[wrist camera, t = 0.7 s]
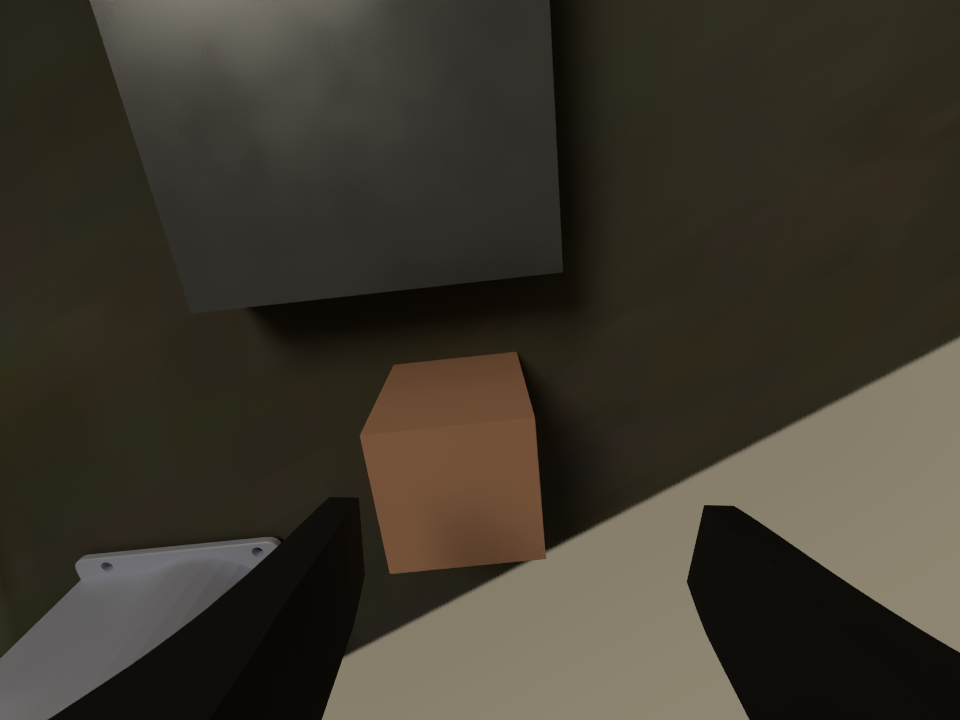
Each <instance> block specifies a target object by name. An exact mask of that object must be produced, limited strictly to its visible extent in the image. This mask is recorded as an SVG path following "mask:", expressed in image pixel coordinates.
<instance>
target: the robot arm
mask: <svg viewBox="0 0 960 720" xmlns="http://www.w3.org/2000/svg"><path fill="white" fill-rule="evenodd" d="M257 548H260V549H262V550H263V551H261V550H258V549H257ZM75 567H76V570H77V572H78V574H79V576H80V578H81V581H80V582H79V583H77V584H76V585H75V586H74V587H73V588H72V589H71V590H70V591H69V592H68V593H67V594H66V595H65V596H64V597H63V598H62V599H61V600H60V601H59V602H58V603H57V604H56V605H55V606H54V607H53V608H52V609H51V610H50V611H49V612H48V613H47V614H46V615H45V616H44V617H43V618H42V619H41V620H40V621H38V622H37V623H36V624H35V625H34V626H33V627H32V628H31V629H30V630H29V631H28V632H27V633H26V634H25V635H24V636H23V637H22V638H21V639H20V640H19V641H18V642H17V643H16V644H15V645H14V646H13V647H12V648H11V649H10V650H9V651H8V652H7V653H6V654H5V655H4V656H3V657H2V658H1V659H0V720H322V717H323V714H324V711H325V708H326V705H327V702H328V699H329V697H330V693H331V690H332V688H333V685H334V682H335V679H336V676H337V673H338V670H339V667H340V664H341V661H342V658H343V655H344V652H345V650H346V647H347V644H348V641H349V638H350V635H351V632H352V629H353V625H354V621H355V617H356V613H357V608H358V604H359V600H360V595H361V590H362V585H363V581H364V576H365V572H364V560H363V547H362V534H361V522H360V509H359V498H343V497H329V498H328V499H327V500H326V501H325V502H324V503H323V504H321V505H320V506H319V507H318V508H317V509H316V510H315V511H314V512H313V513H312V514H311V515H310V516H309V517H308V518H307V519H306V520H305V521H304V522H303V523H301V524H300V525H299V526H298V527H297V528H296V529H295V530H294V531H293V532H292V533H291V534H290V535H289V536H288V537H287V538H286V539H285V540H284V541H283V542H282V543H281V541H279V540H278V539H277V538H274V537H263V538H253V539H242V540H232V541H222V542H212V543H202V544H192V545H182V546H171V547H161V548H151V549H141V550H131V551H121V552H111V553H100V554H90V555H85V556H83V557H82V558H81V559H80V560H79V561H78V562H77V563H76V565H75ZM687 583H688V586H689V589H690V592H691V595H692V598H693V600H694V603H695V606H696V609H697V612H698V614H699V617H700V620H701V622H702V625H703V627H704V630H705V632H706V634H707V637H708V639H709V641H710V643H711V645H712V647H713V649H714V651H715V653H716V655H717V657H718V658H719V661H720V662H721V665H722V667H723V668H724V670H725V673H726V675H727V676H728V678H729V680H730V682H731V684H732V686H733V688H734V690H735V692H736V694H737V696H738V698H739V700H740V702H741V704H742V706H743V708H744V710H745V712H746V714H747V716H748V717H749V720H960V653H959V652H958V651H956V650H954V649H952V648H950V647H949V646H947V645H946V644H944V643H942V642H940V641H939V640H937V639H935V638H934V637H932V636H930V635H929V634H927V633H925V632H924V631H922V630H920V629H919V628H917V627H916V626H914V625H913V624H911V623H909V622H908V621H906V620H905V619H903V618H901V617H900V616H898V615H897V614H895V613H893V612H892V611H890V610H888V609H887V608H886V607H884V606H882V605H881V604H879V603H878V602H876V601H874V600H873V599H871V598H870V597H868V596H867V595H865V594H864V593H862V592H861V591H859V590H858V589H856V588H855V587H853V586H852V585H850V584H849V583H847V582H845V581H844V580H843V579H841V578H840V577H838V576H837V575H835V574H834V573H832V572H831V571H829V570H828V569H826V568H825V567H823V566H822V565H821V564H819V563H818V562H816V561H815V560H813V559H812V558H810V557H809V556H807V555H806V554H805V553H803V552H802V551H800V550H799V549H797V548H796V547H794V546H793V545H792V544H790V543H789V542H787V541H786V540H784V539H783V538H781V537H780V536H779V535H777V534H776V533H774V532H773V531H771V530H770V529H768V528H767V527H765V526H764V525H763V524H761V523H760V522H758V521H757V520H755V519H754V518H752V517H751V516H749V515H748V514H746V513H744V512H743V511H741V510H739V509H738V508H736V507H735V506H713V505H704V509H703V513H702V517H701V522H700V526H699V531H698V535H697V539H696V544H695V548H694V553H693V557H692V562H691V566H690V570H689V575H688V579H687Z"/></svg>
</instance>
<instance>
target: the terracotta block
mask: <svg viewBox="0 0 960 720" xmlns="http://www.w3.org/2000/svg"><path fill="white" fill-rule="evenodd" d="M360 439H361V443H362V448H363V452H364V457H365V462H366V466H367V471H368V475H369V480H370V484H371V489H372V494H373V498H374V503H375V507H376V512H377V517H378V521H379V526H380V530H381V535H382V539H383V544H384V549H385V553H386V558H387V562H388V567H389V572H390V574H394V573H404V572H415V571H425V570H436V569H446V568H456V567H467V566H477V565H488V564H498V563H508V562H519V561H529V560H539V559H546V557H545V556H546V555H545V542H544V529H543V517H542V504H541V491H540V478H539V465H538V452H537V439H536V426H535V416H534V413H533V409H532V406H531V402H530V398H529V395H528V391H527V387H526V384H525V380H524V377H523V373H522V369H521V366H520V362H519V359H518V355H517V352H509V353H500V354H491V355H481V356H472V357H462V358H453V359H444V360H434V361H425V362H416V363H406V364H397V365H394V366H393V368H392V370H391V372H390V374H389V376H388V378H387V380H386V382H385V384H384V386H383V388H382V391H381V393H380V395H379V397H378V399H377V401H376V403H375V405H374V407H373V409H372V411H371V414H370V416H369V418H368V420H367V422H366V424H365V426H364V428H363V430H362V432H361V434H360Z"/></svg>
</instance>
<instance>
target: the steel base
mask: <svg viewBox="0 0 960 720" xmlns="http://www.w3.org/2000/svg"><path fill="white" fill-rule="evenodd" d="M90 3H91V6H92V9H93V12H94V15H95V18H96V21H97V24H98V27H99V31H100V34H101V37H102V40H103V43H104V46H105V49H106V52H107V55H108V58H109V62H110V65H111V68H112V71H113V74H114V77H115V80H116V83H117V86H118V89H119V93H120V96H121V99H122V102H123V105H124V108H125V111H126V114H127V117H128V120H129V123H130V127H131V130H132V133H133V136H134V139H135V142H136V145H137V148H138V151H139V154H140V158H141V161H142V164H143V167H144V170H145V173H146V176H147V179H148V182H149V185H150V189H151V192H152V195H153V198H154V201H155V204H156V207H157V210H158V213H159V216H160V220H161V223H162V226H163V229H164V232H165V235H166V238H167V241H168V244H169V247H170V250H171V254H172V257H173V260H174V263H175V266H176V269H177V272H178V275H179V278H180V281H181V285H182V288H183V291H184V294H185V297H186V300H187V303H188V306H189V309H190V312H191V314H192V313H201V312H210V311H219V310H228V309H237V308H246V307H255V306H264V305H273V304H282V303H291V302H300V301H309V300H318V299H327V298H336V297H345V296H354V295H363V294H372V293H381V292H390V291H399V290H408V289H417V288H426V287H435V286H444V285H453V284H462V283H471V282H480V281H489V280H498V279H507V278H516V277H525V276H534V275H543V274H552V273H561V272H563V261H562V241H561V221H560V201H559V180H558V160H557V140H556V120H555V100H554V80H553V60H552V39H551V19H550V0H90Z"/></svg>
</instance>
